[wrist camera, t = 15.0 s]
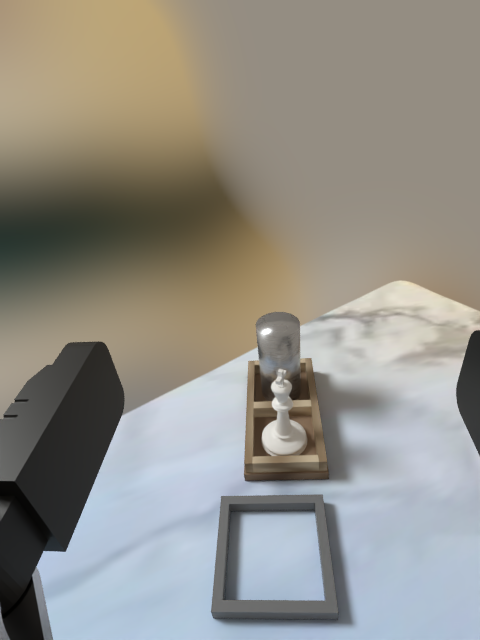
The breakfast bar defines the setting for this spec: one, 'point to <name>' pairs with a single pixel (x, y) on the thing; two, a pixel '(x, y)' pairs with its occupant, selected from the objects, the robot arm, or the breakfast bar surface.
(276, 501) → the frame
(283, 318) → the steel peg
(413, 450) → the breakfast bar surface
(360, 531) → the breakfast bar surface
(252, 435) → the wooden divided tray
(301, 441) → the chess piece
